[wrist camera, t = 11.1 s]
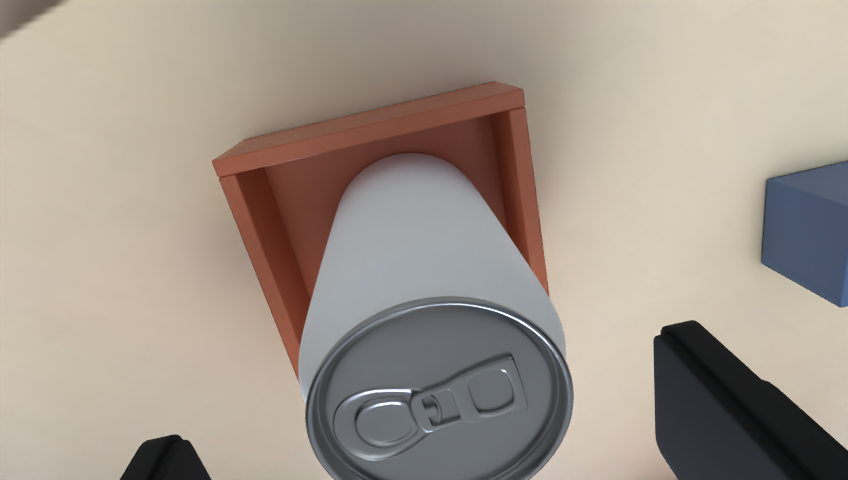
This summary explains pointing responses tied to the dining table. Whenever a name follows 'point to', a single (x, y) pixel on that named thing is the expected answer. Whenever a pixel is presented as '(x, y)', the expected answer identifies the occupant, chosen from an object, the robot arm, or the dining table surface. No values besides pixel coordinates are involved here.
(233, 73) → the dining table surface
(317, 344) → the can
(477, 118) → the terracotta bin
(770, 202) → the block
